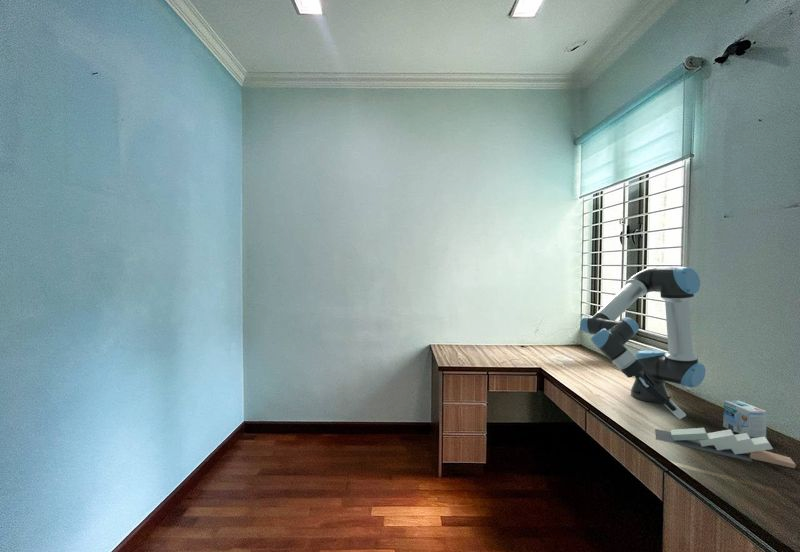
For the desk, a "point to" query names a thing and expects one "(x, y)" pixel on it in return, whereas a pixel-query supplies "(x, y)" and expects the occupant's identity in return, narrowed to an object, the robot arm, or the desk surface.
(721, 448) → the domino
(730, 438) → the domino
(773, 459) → the end domino
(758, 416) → the light bulb box
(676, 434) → the domino
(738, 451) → the domino
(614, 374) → the desk surface
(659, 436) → the domino mat
